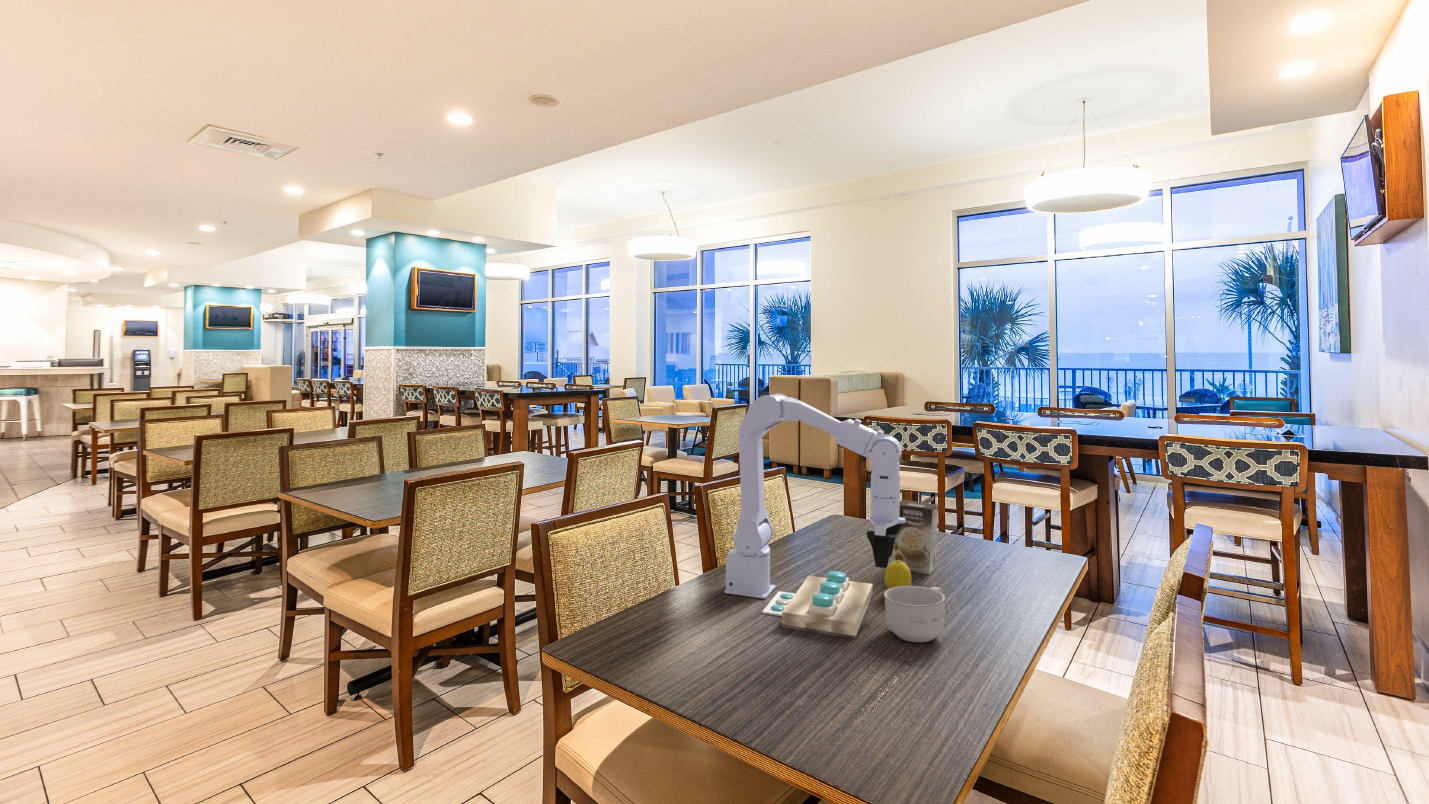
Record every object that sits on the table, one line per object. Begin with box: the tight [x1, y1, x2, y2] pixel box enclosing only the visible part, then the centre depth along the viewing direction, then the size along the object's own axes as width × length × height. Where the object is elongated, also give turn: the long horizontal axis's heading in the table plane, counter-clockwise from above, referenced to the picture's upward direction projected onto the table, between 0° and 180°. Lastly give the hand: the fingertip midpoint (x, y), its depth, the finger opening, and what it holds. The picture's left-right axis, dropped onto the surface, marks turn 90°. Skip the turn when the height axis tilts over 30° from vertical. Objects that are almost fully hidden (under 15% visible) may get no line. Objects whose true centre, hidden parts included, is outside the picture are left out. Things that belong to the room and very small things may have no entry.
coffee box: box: [893, 499, 939, 575], centre depth 155 cm, size 9×6×16 cm
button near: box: [809, 593, 836, 616], centre depth 122 cm, size 4×4×3 cm
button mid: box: [817, 582, 843, 603], centre depth 128 cm, size 4×4×3 cm
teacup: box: [883, 585, 946, 643], centre depth 118 cm, size 14×11×8 cm
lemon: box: [884, 560, 912, 590], centre depth 137 cm, size 6×6×8 cm
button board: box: [781, 575, 874, 640], centre depth 128 cm, size 14×22×3 cm, turn 158°
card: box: [762, 591, 796, 617], centre depth 132 cm, size 5×12×1 cm, turn 158°
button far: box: [824, 570, 850, 591], centre depth 135 cm, size 4×4×3 cm
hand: (883, 561), depth 129 cm, fingers open, 7 cm apart
